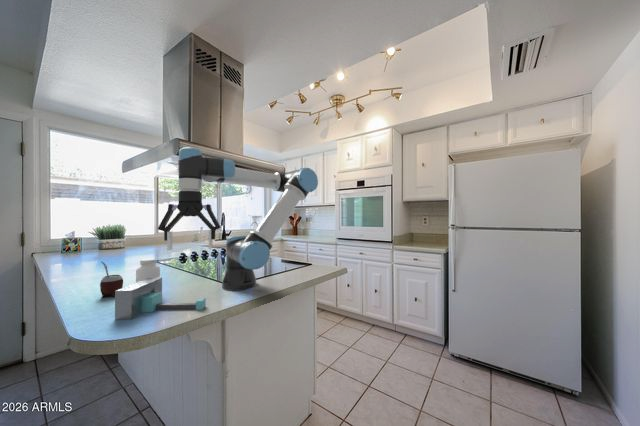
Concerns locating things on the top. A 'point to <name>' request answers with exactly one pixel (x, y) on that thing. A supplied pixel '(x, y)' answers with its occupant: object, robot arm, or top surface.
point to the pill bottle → (147, 269)
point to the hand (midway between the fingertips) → (190, 249)
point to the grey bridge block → (134, 297)
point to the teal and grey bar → (153, 303)
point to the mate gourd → (110, 284)
